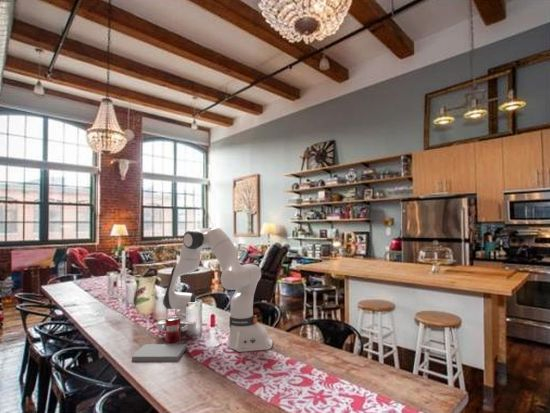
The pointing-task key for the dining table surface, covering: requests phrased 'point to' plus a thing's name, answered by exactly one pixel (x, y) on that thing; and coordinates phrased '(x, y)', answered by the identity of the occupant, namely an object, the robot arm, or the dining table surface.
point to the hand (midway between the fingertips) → (172, 329)
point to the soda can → (172, 330)
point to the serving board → (159, 352)
